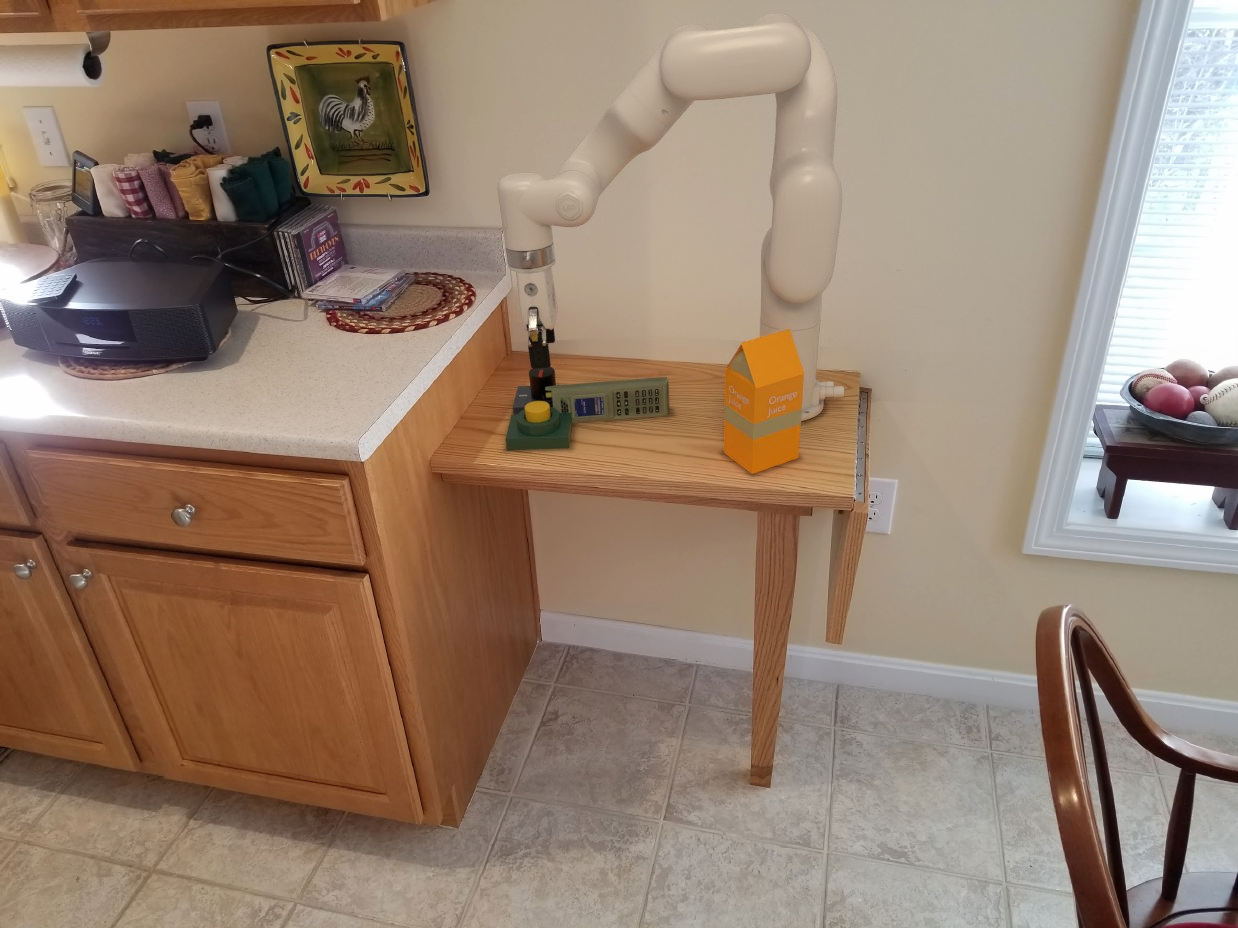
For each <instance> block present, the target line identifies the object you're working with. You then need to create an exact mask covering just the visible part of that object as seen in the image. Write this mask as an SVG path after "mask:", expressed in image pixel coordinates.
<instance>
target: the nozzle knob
mask: <svg viewBox="0 0 1238 928" xmlns="http://www.w3.org/2000/svg"><path fill="white" fill-rule="evenodd" d="M528 378H529V386H530V389H531V397H532V398H533V399H534V400H538V401H547V400H551V399H552V398H551V397H549V398H546V393H548V392H550V393H551V392H552V391H549V390H545V387H549V386H554V385H557V379H556V370H555V369H554V367H552V366H550V367H549V368H535V369H533V368H531V369H529V371H528Z"/></svg>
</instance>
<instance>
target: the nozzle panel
mask: <svg viewBox="0 0 1238 928" xmlns="http://www.w3.org/2000/svg"><path fill="white" fill-rule="evenodd" d="M563 385H567V383H566V384H563ZM534 401H538V400H534V399H533V398H532V397H531V389H530V385H518V386H517V387H516V393H515V396H514V401H513V405H512V415H517V414H518V413H519V412H521V411H522V410H523V409H525V406H526V405H527V404H528V403H530V402H534ZM551 401H552V399H551V400H547V401H544V402H551ZM551 405H552V404H551Z"/></svg>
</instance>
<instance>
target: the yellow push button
mask: <svg viewBox="0 0 1238 928" xmlns="http://www.w3.org/2000/svg"><path fill="white" fill-rule="evenodd" d="M525 415H526V420H527V421H528V422H532V423H536V422H544V421H547V420H549V419H550V417H551V415H550V405H549V404H548V403H547V402H544V401H534V402H530V403H528V404H527V405H526V406H525Z"/></svg>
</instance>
